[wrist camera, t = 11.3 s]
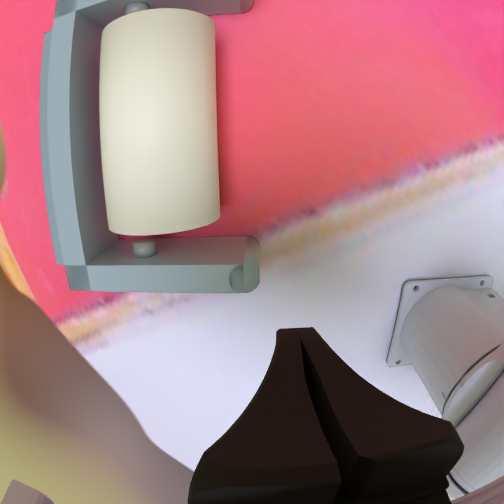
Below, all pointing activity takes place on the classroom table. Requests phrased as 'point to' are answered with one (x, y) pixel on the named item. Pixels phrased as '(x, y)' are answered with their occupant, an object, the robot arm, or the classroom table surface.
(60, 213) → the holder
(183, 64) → the cylinder
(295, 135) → the classroom table surface
